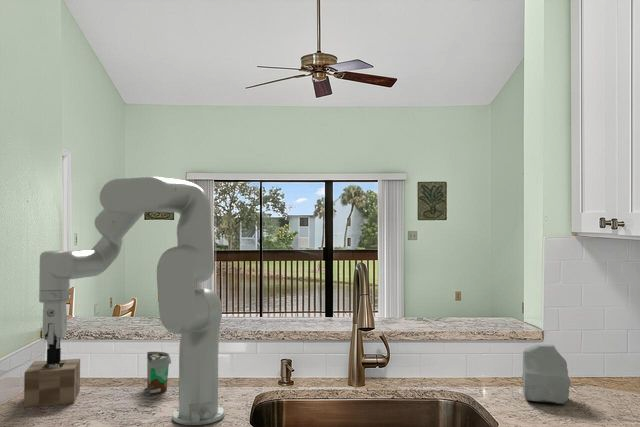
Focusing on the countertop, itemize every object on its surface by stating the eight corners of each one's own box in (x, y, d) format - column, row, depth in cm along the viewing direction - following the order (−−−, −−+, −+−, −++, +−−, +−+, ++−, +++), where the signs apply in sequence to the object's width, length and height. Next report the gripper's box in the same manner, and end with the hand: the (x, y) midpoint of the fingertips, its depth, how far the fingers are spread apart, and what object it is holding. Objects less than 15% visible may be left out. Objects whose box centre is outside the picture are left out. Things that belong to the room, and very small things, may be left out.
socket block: (74, 403, 149) (74, 369, 149) (24, 407, 146) (24, 372, 146) (79, 390, 161) (80, 358, 161) (33, 393, 157) (34, 361, 157)
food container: (173, 395, 156) (173, 359, 157) (150, 397, 154) (150, 361, 154) (168, 383, 168) (168, 349, 168) (146, 385, 166) (147, 351, 166)
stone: (566, 395, 157) (565, 341, 157) (571, 409, 145) (571, 351, 146) (521, 391, 161) (521, 338, 161) (523, 404, 149) (523, 347, 149)
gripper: (65, 299, 148) (64, 369, 147) (73, 292, 162) (72, 356, 162) (33, 300, 145) (32, 371, 145) (44, 293, 160) (43, 357, 159)
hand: (53, 363), depth 153 cm, fingers closed
